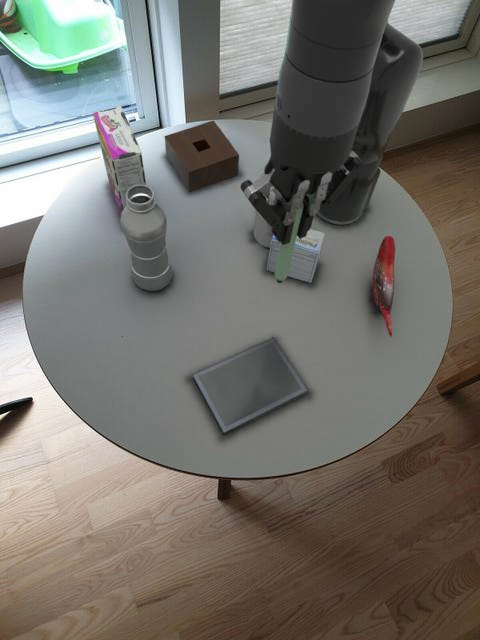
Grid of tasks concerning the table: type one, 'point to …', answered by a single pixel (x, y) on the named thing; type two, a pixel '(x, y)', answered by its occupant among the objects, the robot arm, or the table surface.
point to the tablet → (249, 385)
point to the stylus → (287, 250)
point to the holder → (201, 155)
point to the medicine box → (299, 255)
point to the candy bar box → (119, 153)
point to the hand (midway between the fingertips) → (290, 235)
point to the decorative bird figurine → (384, 279)
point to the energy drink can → (264, 224)
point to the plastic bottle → (146, 239)
